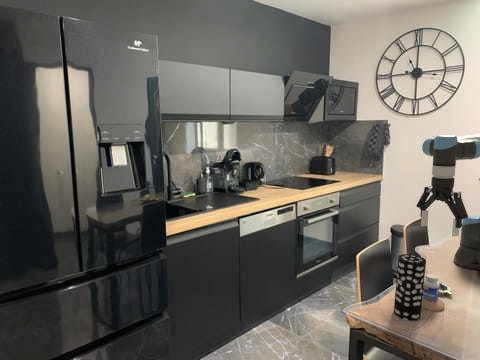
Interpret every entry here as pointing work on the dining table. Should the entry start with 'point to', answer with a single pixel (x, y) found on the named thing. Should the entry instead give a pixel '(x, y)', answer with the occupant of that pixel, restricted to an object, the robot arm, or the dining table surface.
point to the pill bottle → (430, 289)
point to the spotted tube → (409, 287)
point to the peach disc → (434, 306)
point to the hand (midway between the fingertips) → (439, 230)
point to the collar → (445, 290)
